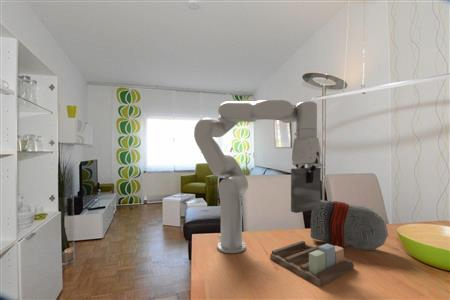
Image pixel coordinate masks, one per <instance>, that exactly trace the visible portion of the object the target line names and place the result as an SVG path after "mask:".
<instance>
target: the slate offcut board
mask: <svg viewBox="0 0 450 300" xmlns="http://www.w3.org/2000/svg"><path fill="white" fill-rule="evenodd" d="M318 247H319V251H322V252H324V253H325V261H326V270H327V269H329V268H331V267H333V266H335V246H333V245H331V243H324V244H322V245H319V246H318Z"/></svg>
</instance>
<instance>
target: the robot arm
mask: <svg viewBox="0 0 450 300" xmlns="http://www.w3.org/2000/svg"><path fill="white" fill-rule="evenodd" d="M217 111H218V112H217V113H218V115H219V118H217V119H215V118H210V117H204V118H201V119H199V120H198V122H196V124H195V127H194V131H193V133H194V134H193V135H194V136H193V137H194V140H195V143H196V145H197V147H198V149H199V150H200V152H201V154H202V155H203V157H204V160H205V161H206V164H207V166H208V167H209V169H210V171H211V173H212V174H213V175H214V176H216V177H223V176H224V178H222V180H221V181H220V182H219V184H218V195H219V196H218V197H219V203H220V204H219V206H220V210H219V211H220V234H218V238H219V240H220V241H219V242H218V243H217V250H218V251H219V252H221V253H225V254H239V253H242V252H243V251H245V250H246V249H247V247H246V243H245V242H244V241H243V206H242V200H241V195H242V194H244V193H246V191H247V190H248V188H249V181H248V179H247V176H246V175H245V173H244V171H243V170H242V168H241V166H240V164H239V162H238V161H237V159H235V158H234V157H233V156H232V155H228V154H227V155H225V154H224V152H223V151H222V149H221V147H220V146H219V144H218V142H216V140H215V139H214V138H221V137H223V136H225V135H226V134H227V133H228V132H229V131H231V130H232V129H233V128H234V127H235V126H236V125H237V124H239V122H245V123H253V122H256V121H260V120H268V121H269V120H273V121H281V122H282V123H284V124H285V123H286V124H291V123H296V124H295V127H296V128H295V130H296V131H295V132H294V136H295V138H294V140H293V142H292V150H291V151H292V154H291V161H292V163H291V164H292V165H293V166H295V167H296V168H308V172H306V182H307V183H313V172H315V170H316V169H317V168H321V167H322V166H323V165H322V161H321V146H320V140H319V137H318V105H317V103H316V102H315V101H311V100H310V101H309V100H306V101H300V102H298V103H297V104H292V103H291V102H290V101H288V100H285V99H284V100H283V99H263V100H256V101H224V102H223V103H221V104H220V105H219V107H218V109H217ZM306 165H307V166H306Z"/></svg>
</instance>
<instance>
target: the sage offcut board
mask: <svg viewBox="0 0 450 300" xmlns="http://www.w3.org/2000/svg"><path fill="white" fill-rule="evenodd" d="M308 262H309V272H310V273H312V274H314V275H316V276H317V274H318V273H320V272H323V271H325V270H326V261H325V253H324V252H322V251H319V250H316V251H313V252H311V253H309V259H308Z"/></svg>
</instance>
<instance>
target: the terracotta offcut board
mask: <svg viewBox="0 0 450 300" xmlns="http://www.w3.org/2000/svg"><path fill="white" fill-rule="evenodd" d="M344 250H345V249H344V247H339V246H335V265H337V264H340V263H342V262H344V259H345V254H344V253H345V251H344Z"/></svg>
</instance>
